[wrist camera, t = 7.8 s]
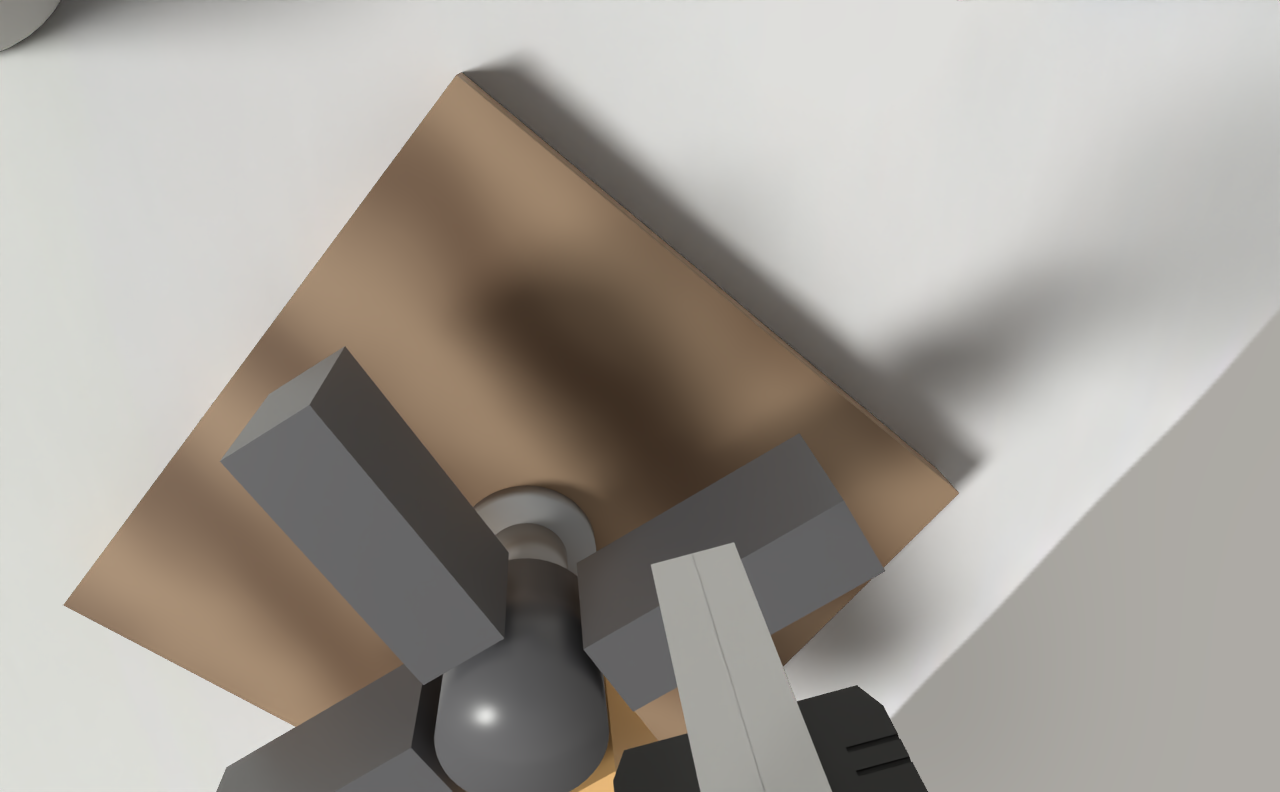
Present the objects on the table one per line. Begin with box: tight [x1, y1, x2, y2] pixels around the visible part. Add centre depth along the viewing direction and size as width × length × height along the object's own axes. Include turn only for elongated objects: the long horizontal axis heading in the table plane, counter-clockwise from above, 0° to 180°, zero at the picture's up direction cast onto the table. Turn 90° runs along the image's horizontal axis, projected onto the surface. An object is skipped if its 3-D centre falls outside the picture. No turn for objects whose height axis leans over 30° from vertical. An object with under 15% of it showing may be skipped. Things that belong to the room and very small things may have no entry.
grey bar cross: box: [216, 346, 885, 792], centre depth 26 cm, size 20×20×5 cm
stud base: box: [64, 72, 959, 741], centre depth 31 cm, size 22×22×6 cm
